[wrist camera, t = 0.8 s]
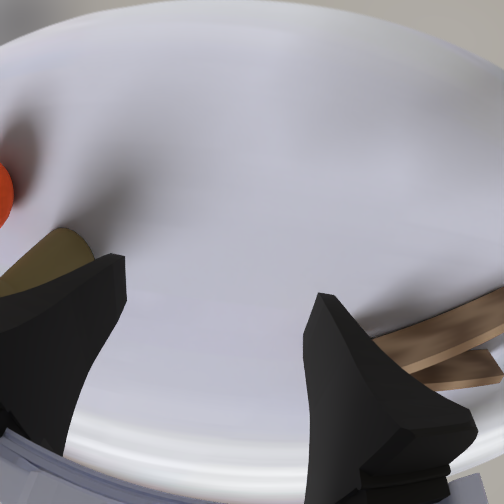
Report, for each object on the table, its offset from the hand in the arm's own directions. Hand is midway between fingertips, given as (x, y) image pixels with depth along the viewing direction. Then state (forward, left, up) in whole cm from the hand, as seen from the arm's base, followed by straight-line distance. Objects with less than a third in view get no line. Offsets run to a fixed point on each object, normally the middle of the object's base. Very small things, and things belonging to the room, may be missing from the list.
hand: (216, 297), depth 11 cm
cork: (+1, +16, -10) cm, 19 cm away
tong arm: (-12, -13, -10) cm, 20 cm away
